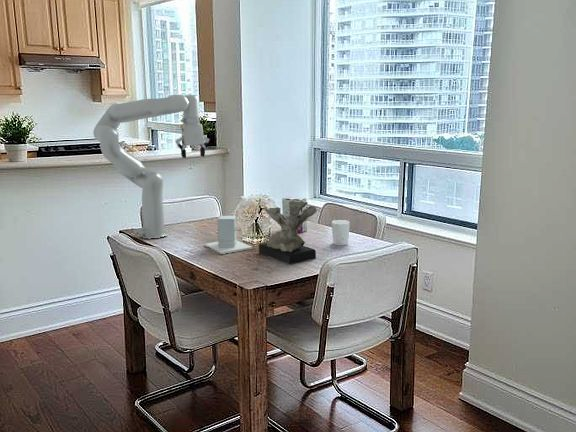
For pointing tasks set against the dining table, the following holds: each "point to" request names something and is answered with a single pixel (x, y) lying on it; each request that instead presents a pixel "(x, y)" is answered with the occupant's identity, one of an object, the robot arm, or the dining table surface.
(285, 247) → the coral
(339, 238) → the white cup
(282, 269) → the dining table surface
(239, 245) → the tile
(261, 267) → the dining table surface
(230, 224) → the supplement box
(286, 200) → the candy bar box
